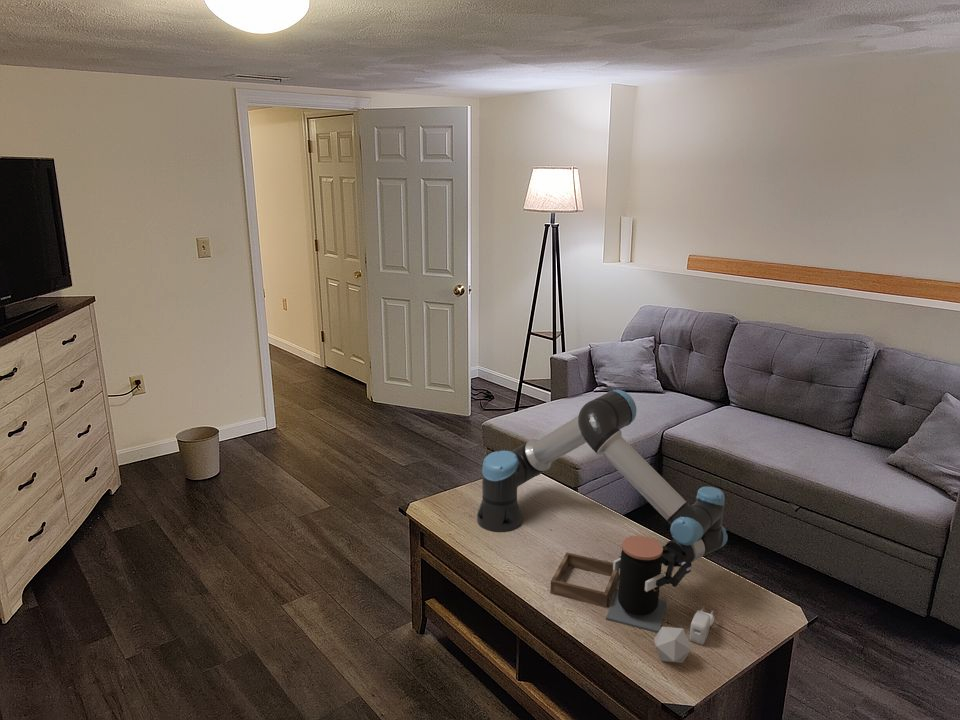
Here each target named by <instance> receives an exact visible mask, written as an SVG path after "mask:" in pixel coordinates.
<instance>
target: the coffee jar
mask: <svg viewBox="0 0 960 720" xmlns="http://www.w3.org/2000/svg"><path fill="white" fill-rule="evenodd" d="M662 546H663V545H662V544H661V542H660V541H658V540H657V539H654V538H652V537H649V536H646V535H645V536H644V535H633V536H629V537H626V538H624V539H623V540H622V543H621V548H622V549H621V553H620V556H621V562H620V569H619V576H618V579H619V580H618V588H617V589H618V601H619V603H620V605H621V606H622V608H623V609H624V610H626V611H627V612H629V613H631V614H634V615H648V614H651V613H652V612H653V611H654V610H655V609H656V608H657V607H658V600H659V599H660V588H661V587H658V586H657V587H655V588H653V589H651V590H649V591H647V592H646V591H645V581H647V580H649V579H651V578H653V577H655V576H657V575H659V574H661V573H662V566H663V563H662V552H663V547H662Z"/></svg>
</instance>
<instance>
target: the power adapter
mask: <svg viewBox="0 0 960 720" xmlns="http://www.w3.org/2000/svg"><path fill="white" fill-rule="evenodd" d="M714 613H715V610H713V609H712V610H711V611H710V613H708V612H705V606H702V607H700V610H699V609H698V610H696V611H695V613H694V615H693V618H692V620H691V622H690V627H689V628H690V629H689V641H690V642H693V643H695V644H698V645H701V646H703V645H704V644H705V643H706V641H707V638H708V635H709V633H710V627H711V626H712V625H713V624H714V621H715V619H716V618H715V616H714Z"/></svg>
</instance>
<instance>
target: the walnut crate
mask: <svg viewBox="0 0 960 720" xmlns="http://www.w3.org/2000/svg"><path fill="white" fill-rule="evenodd" d="M568 568H574V569H577V570H582V571H587V572H591V573H595V574H599V575H602V576H603V575H604V576H607V577H609V579H608V583H607V585H606V588H605V590H604V591H601V590H597V589H593V588H590V587H584V586H581V585H577V584H573V583H568V582H565V581H562V579H563V577H564V575H565V574H566V572H567V570H568ZM619 575H620V569H618V570H616V571H614V570H613V562H610V561H607V560H602V559H598V558H593V557H588V556H585V555H579V554H576V553H571V552H565V555H564V557H563V558H562V560H561V562H560V564H559V566H558V567H557V569H556V571H555V573H554V575H553V577H552V578H551V579H550V580H551V581H550V592H549V593H550V594H551V595H554V596H558V597H562V598H566V599H567V598H568V599H570V600H574V601H578V602H583V603H587V604H590V605H594V606H597V607H602V608H607V607H608V604H609V601H610V599H611V597H612V594H613V591H614V589H615V586H616V584H617V581H618V579H619Z"/></svg>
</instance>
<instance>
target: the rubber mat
mask: <svg viewBox="0 0 960 720" xmlns="http://www.w3.org/2000/svg"><path fill="white" fill-rule="evenodd" d="M618 589H619V588H616V590H615V593H614V595H613V598H612V601H611V604H610V606H609V608H608V612H607V615H606V616H605V620H606V621H610V622H614V623H619V624H621V625H624V626H628V627H634V628H638V629H640V630H641V629H642V630H644V631H648V632H649V631H650V632H651V633H657V634H658V632H659V631H660V629H661V627H662V624H663V619H664V616H665V613H666V610H667V609H666V608H667V604H668V600H667V599H662V598H659V600H658V607H657V608H656V609H655V610H654V611H653V612H652V613H651V614H648V615H634V614H631V613H629V612H627V611H626V610H624V609H623V608H622V606H621V605H620V603H619V601H618Z"/></svg>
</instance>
